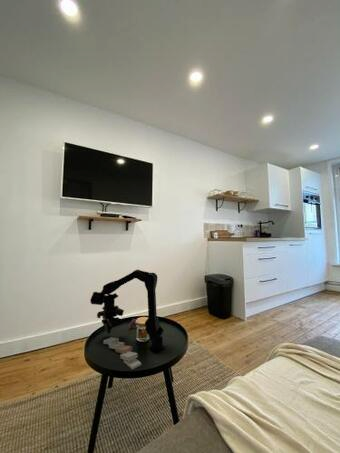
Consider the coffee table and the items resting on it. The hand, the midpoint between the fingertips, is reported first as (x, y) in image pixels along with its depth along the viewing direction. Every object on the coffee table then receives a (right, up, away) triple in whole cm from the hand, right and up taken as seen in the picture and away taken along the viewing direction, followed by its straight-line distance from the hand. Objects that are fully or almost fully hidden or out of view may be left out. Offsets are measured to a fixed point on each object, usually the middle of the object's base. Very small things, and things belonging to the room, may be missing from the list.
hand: (108, 333), depth 115 cm
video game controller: (+13, -6, +17) cm, 22 cm away
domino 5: (+14, -4, -15) cm, 21 cm away
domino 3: (+8, -4, -7) cm, 11 cm away
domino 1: (-1, -4, 0) cm, 4 cm away
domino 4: (+12, -4, -13) cm, 18 cm away
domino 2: (+3, -4, -4) cm, 6 cm away
